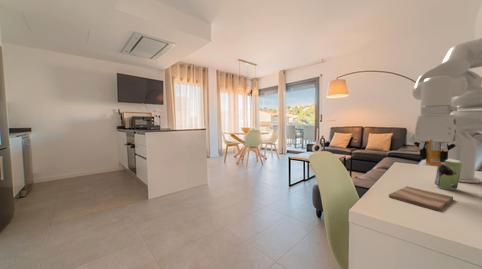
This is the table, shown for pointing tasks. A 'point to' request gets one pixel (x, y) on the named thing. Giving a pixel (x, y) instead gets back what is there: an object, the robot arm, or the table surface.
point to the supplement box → (433, 153)
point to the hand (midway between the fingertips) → (433, 160)
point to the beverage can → (448, 174)
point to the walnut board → (422, 198)
